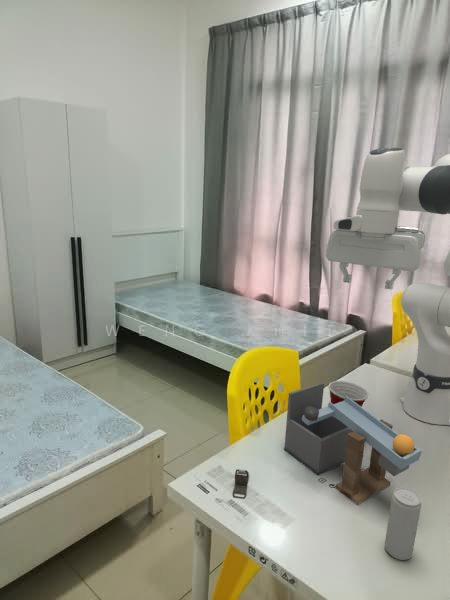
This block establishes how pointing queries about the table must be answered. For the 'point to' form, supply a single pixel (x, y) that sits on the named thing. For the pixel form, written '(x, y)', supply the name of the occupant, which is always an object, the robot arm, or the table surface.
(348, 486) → the stand
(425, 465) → the table surface
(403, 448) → the ball
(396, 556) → the beverage can
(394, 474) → the lever
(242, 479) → the grey hinged case
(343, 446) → the bin
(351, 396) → the plastic cup
